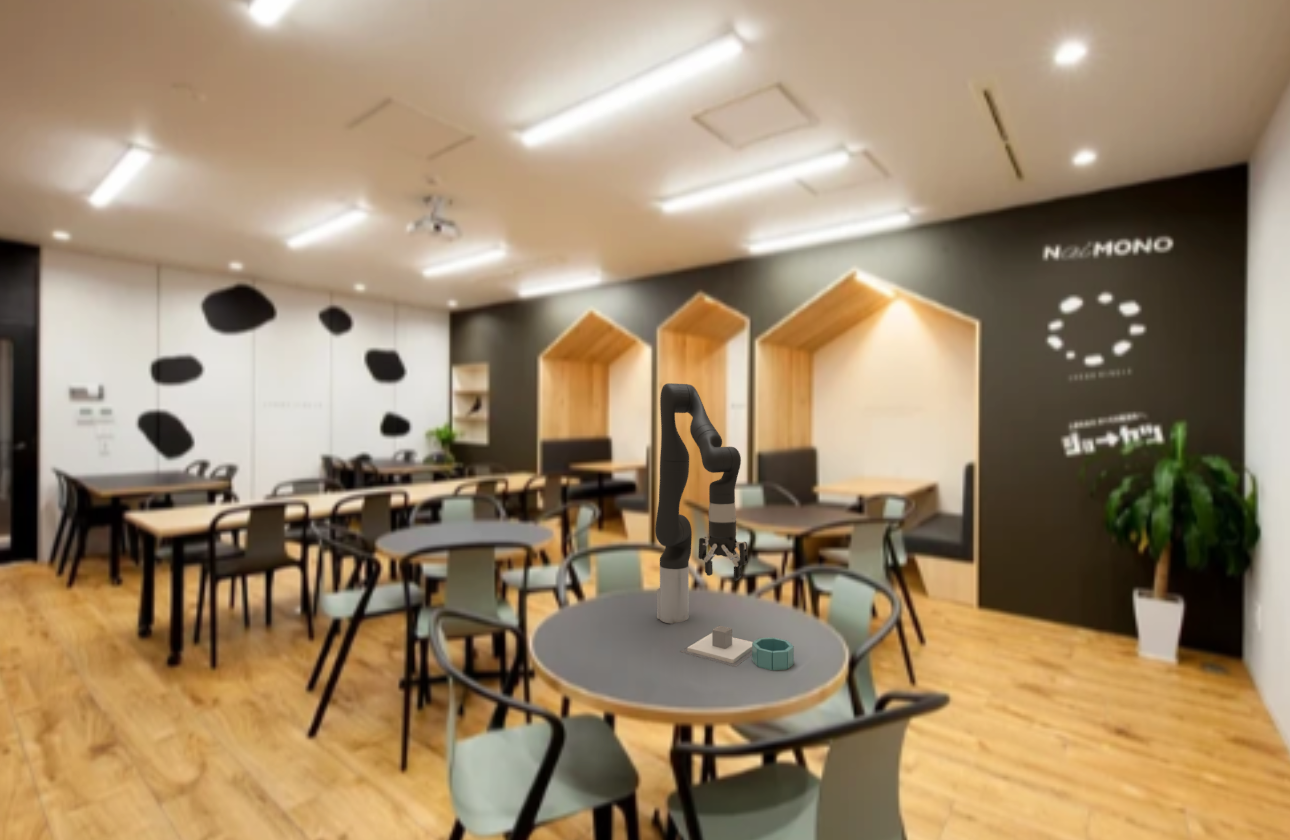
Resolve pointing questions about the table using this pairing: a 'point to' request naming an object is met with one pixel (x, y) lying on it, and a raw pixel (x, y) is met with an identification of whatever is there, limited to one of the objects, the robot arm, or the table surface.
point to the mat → (717, 659)
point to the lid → (721, 645)
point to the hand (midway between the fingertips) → (723, 577)
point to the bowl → (773, 653)
